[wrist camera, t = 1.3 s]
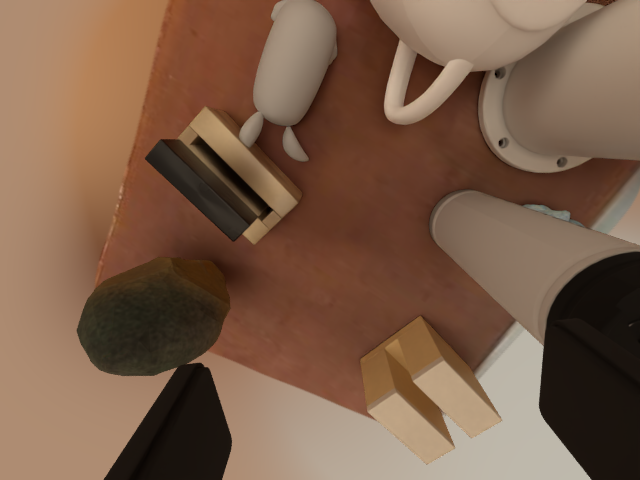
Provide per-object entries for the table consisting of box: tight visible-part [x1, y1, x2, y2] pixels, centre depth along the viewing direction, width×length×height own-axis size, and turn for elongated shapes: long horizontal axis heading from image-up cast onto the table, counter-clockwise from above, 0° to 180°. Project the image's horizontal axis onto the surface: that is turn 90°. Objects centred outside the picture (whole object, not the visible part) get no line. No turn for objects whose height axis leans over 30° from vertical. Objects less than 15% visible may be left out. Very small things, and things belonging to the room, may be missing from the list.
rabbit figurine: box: [239, 0, 337, 162], centre depth 24 cm, size 6×5×12 cm
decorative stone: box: [77, 257, 230, 376], centre depth 24 cm, size 10×6×15 cm, turn 67°
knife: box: [145, 139, 269, 242], centre depth 23 cm, size 7×2×11 cm, turn 43°
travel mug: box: [429, 189, 640, 359], centre depth 20 cm, size 6×7×20 cm
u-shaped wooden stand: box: [360, 316, 502, 464], centre depth 31 cm, size 9×9×7 cm
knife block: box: [178, 106, 303, 245], centre depth 26 cm, size 10×5×4 cm, turn 43°
